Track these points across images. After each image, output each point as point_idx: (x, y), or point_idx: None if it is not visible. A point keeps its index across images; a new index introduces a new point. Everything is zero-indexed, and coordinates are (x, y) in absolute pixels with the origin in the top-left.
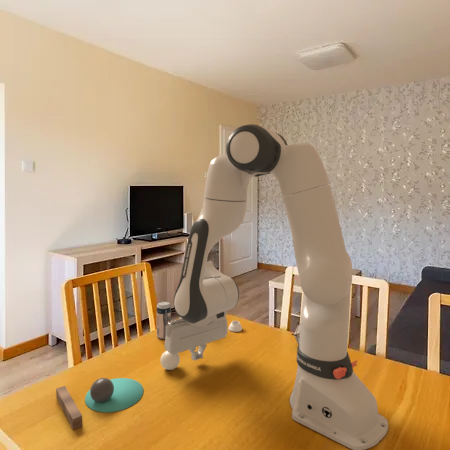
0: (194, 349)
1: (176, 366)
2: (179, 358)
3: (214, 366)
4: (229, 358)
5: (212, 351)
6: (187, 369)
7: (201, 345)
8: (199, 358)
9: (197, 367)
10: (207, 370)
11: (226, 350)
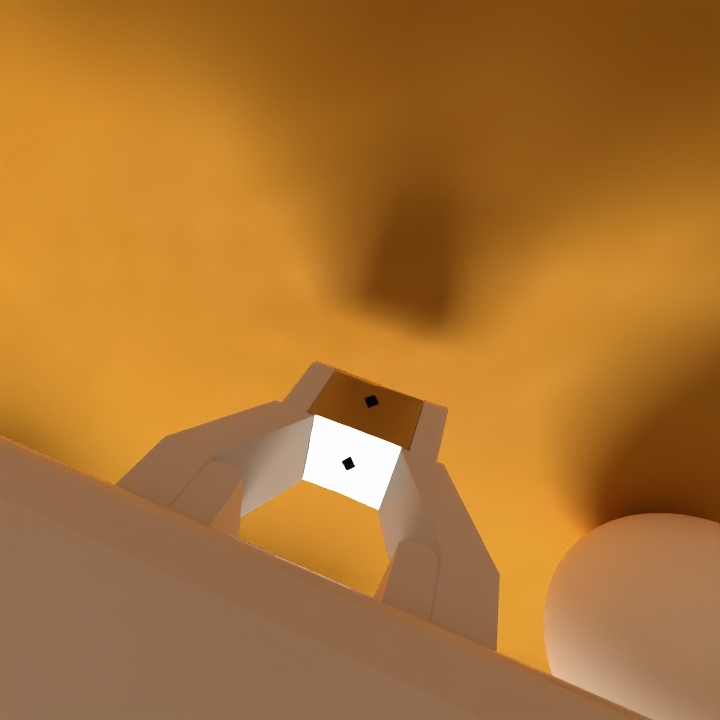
0: (436, 569)
1: (708, 526)
2: (647, 596)
3: (291, 151)
4: (38, 124)
5: (126, 365)
6: (567, 393)
7: (228, 520)
8: (367, 381)
9: (454, 322)
10: (436, 160)
11: (6, 268)
